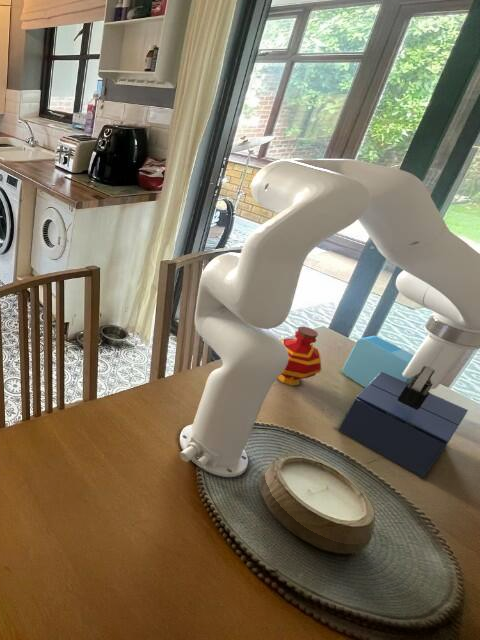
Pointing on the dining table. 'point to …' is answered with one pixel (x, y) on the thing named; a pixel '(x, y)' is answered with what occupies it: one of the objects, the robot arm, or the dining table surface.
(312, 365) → the potion bottle
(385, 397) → the flap
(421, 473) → the carton
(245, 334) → the robot arm
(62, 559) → the dining table surface
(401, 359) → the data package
